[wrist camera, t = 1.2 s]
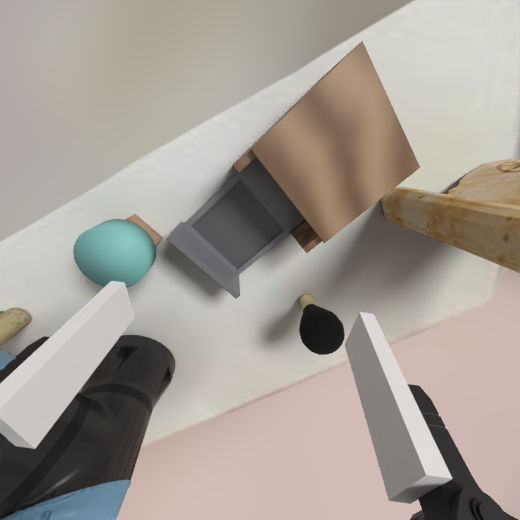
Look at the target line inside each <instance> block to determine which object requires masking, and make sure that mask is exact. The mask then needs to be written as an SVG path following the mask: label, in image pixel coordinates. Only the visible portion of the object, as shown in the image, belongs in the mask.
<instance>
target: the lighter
mask: <svg viewBox="0 0 520 520" xmlns="http://www.w3.org/2000/svg"><path fill="white" fill-rule="evenodd" d="M30 322H31V316H30V314H29V313H28V312H27V311H25V310H23V309H20V308H11V309H9V310H7V311H5V312H4V311H1V312H0V346H1V345H2V344H3V343H4V342H5V341H7V340H8V339H9V338H10V337H12V336H13V335H14V334H15V333H17V332H18V331H19V330H20V329H22V328H23V327H24V326H25V325H27V324H29V323H30Z"/></svg>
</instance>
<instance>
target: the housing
mask: <svg viewBox="0 0 520 520" xmlns="http://www.w3.org/2000/svg"><path fill="white" fill-rule="evenodd" d="M255 157H257V158H258V160H259V161H260V162H261V163H262V165H263V166H264V167H265V169H266V170H267V171H268V172H269V174H270V175H271V176H272V178H273V179H274V180H275V181H276V183H277V184H278V185H279V186H280V188H281V189H282V190H283V192H284V193H285V194H286V195H287V197H288V198H289V199H290V201H291V202H292V203H293V204H294V206H295V207H296V208H297V209H298V211H299V212H300V213H301V215H302V216H303V217H304V218H305V220H304V221H303V222H301V223H300V224H299V225H298V226H297V227H295V228H294V229H293V230H292V231H291V234H292V235H293V236H294V238H295V239H296V240H297V241H298V243H299V244H300V245H301V247H302V248H303V249H304V250H305V252H306V253H308V252H309V251H310V250H311V249H313V248H314V247H315V246H317V245H318V244H319V243H320V242H322V241H323V242H324V243H325V242H327V241H328V240H329V239H330V238H332V237H333V236H334V235H335V234H337V233H338V232H339V231H340V230H342V229H343V228H344V227H345V226H347V225H348V224H349V223H351V222H352V221H353V220H354V219H356V218H357V217H358V216H359V215H361V214H362V213H363V212H364V211H366V210H367V209H368V208H369V207H371V206H372V205H373V204H375V203H376V202H377V201H378V200H380V199H381V198H382V197H383V196H385V195H386V194H387V193H388V192H390V191H391V190H392V189H393V188H395V187H396V186H397V185H399V184H400V183H401V182H402V181H404V180H405V179H406V178H407V177H409V176H410V175H411V174H412V173H414V172H415V171H416V170H417V169H419V168H420V166H419V164H418V162H417V160H416V158H415V155H414V153H413V151H412V149H411V147H410V144H409V142H408V140H407V138H406V136H405V134H404V131H403V129H402V127H401V125H400V123H399V120H398V118H397V116H396V114H395V112H394V109H393V107H392V105H391V103H390V101H389V99H388V96H387V94H386V92H385V90H384V88H383V85H382V83H381V81H380V79H379V77H378V74H377V72H376V70H375V68H374V66H373V64H372V61H371V59H370V57H369V55H368V53H367V50H366V48H365V46H364V44H363V42H361V43H359V44H358V45H357V46H356V47H355V48H354V49H353V50H352V51H351V52H350V53H348V54H347V55H346V56H345V57H344V58H343V59H342V60H341V61H340V62H339V63H337V64H336V65H335V66H334V67H333V68H332V69H331V70H330V71H329V72H327V73H326V74H325V75H324V76H323V77H322V78H321V79H320V80H319V81H318V82H317V83H316V84H315V85H314V86H313V87H312V88H311V89H310V90H309V91H308V92H307V93H306V94H305V95H304V96H303V97H302V98H301V99H300V100H299V101H298V102H297V103H296V104H295V105H293V106H292V107H291V108H290V109H289V110H288V111H287V112H286V113H285V114H284V115H283V116H282V117H281V118H280V119H279V120H278V121H277V122H276V123H275V124H274V125H273V126H272V127H271V128H270V129H269V130H268V131H267V132H266V133H265V134H264V135H263V136H262V137H261V138H260V139H259V140H258V141H257V142H256V143H255V144H253V145H252V146H251V147H250V148H249V149H248V150H247V151H246V152H245V153H244V154H243V155H242V156H241V157H240V158H239V159H238V160H237V161H236V162H235V163H234V164H233V166H234V168H235V169H236V170H237V171H238V172H240V171H241V170H242V169H244V168H245V167H246V166H247V165H248V164H249V163H250V162H251V161H252V160H253V159H254V158H255Z"/></svg>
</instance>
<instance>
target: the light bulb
mask: <svg viewBox="0 0 520 520" xmlns="http://www.w3.org/2000/svg"><path fill="white" fill-rule="evenodd" d="M299 304H300V306H301V309H302V311H303V315H302V318H301V323H300V328H299V332H300V336H301V339H302V342H303V344H304V345H305V346H306V347H307V348H308V349H309V350H310V351H312V352H314V353H317V354H330V353H333V352H334V351H336V350H337V349H338V348H339V347H340V346H341V345H342V343H343V340H344V328H343V324H342V322H341V321H340V320H339V319H338V317H337V316H336V315H335V314H334V313H332V312H330V311H328V310H326V309H323V308H321V307H318V306H317V305H316V303H315V302H314V300H313V298H312V296H311V295H308V294H306V295H303V296H302V297H301V298H300V299H299Z"/></svg>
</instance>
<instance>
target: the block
mask: <svg viewBox="0 0 520 520" xmlns="http://www.w3.org/2000/svg"><path fill="white" fill-rule="evenodd" d="M126 220H127V221H130V222H133V223H135V224H137V225H139V226H140V227H142V228H143V229H144V230H145V231H146V232H147V233H148V234H149V235H150V236H151V238H152V239H153V241H154V244H155V246H156V245H157V244H158V243H159V241H160V240H161V239H162V238H163V237H162V236H160V235H159V234H158V233H157V232H156V231H155V230H153V229H152V228H151V227H150V226H149V225H148V224H146V223H145V222H144V221H143V220H142V219H141V218H139V217H138V216H137V215H136V214H134V215H133V216H131V217H129V218H127V219H126Z"/></svg>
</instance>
